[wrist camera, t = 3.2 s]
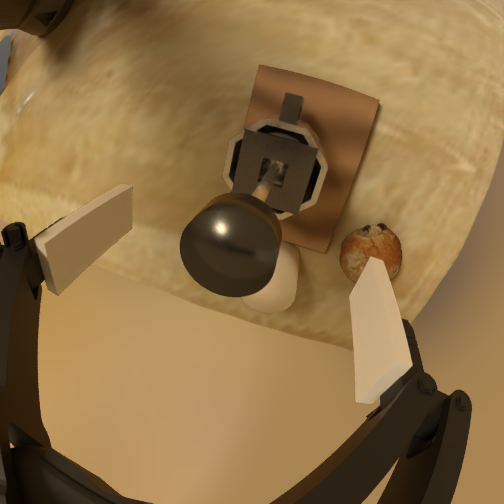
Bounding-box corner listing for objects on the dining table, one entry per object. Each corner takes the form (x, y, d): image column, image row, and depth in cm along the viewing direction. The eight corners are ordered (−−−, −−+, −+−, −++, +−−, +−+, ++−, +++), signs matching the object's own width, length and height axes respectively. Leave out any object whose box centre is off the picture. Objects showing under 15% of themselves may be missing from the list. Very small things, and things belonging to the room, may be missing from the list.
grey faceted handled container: (261, 88, 30) (238, 81, 21) (336, 109, 30) (348, 110, 20) (241, 175, 37) (214, 205, 27) (309, 195, 37) (307, 233, 27)
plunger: (249, 124, 25) (158, 161, 10) (320, 143, 25) (334, 208, 10) (235, 188, 29) (153, 291, 14) (300, 207, 28) (281, 333, 14)
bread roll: (332, 241, 45) (322, 281, 41) (365, 206, 36) (360, 249, 32) (378, 265, 45) (373, 305, 41) (414, 236, 37) (415, 280, 32)
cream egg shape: (257, 228, 43) (243, 259, 35) (306, 243, 42) (304, 277, 35) (245, 274, 48) (231, 309, 40) (289, 288, 47) (283, 324, 40)
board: (260, 65, 30) (259, 64, 29) (377, 100, 29) (379, 100, 28) (226, 219, 43) (224, 223, 42) (324, 249, 42) (324, 253, 41)
